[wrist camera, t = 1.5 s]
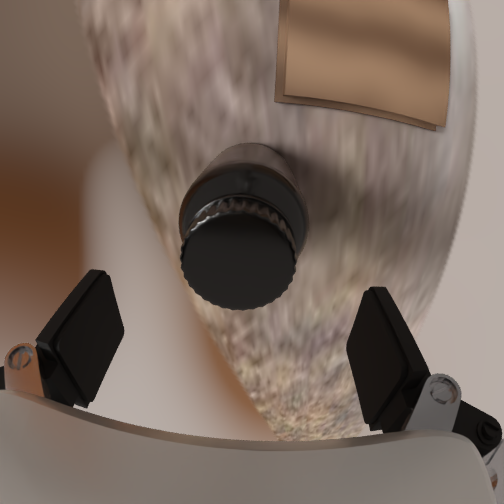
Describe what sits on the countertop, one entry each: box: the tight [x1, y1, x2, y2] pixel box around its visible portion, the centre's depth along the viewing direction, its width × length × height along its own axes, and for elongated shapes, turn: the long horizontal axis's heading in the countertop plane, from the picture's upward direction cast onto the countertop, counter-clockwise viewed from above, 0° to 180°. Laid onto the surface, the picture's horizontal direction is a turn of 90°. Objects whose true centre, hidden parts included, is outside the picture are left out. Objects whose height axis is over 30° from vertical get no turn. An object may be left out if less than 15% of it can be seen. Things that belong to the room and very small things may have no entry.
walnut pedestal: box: [274, 0, 450, 131], centre depth 14 cm, size 13×13×3 cm
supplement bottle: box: [179, 143, 309, 311], centre depth 17 cm, size 7×7×12 cm
